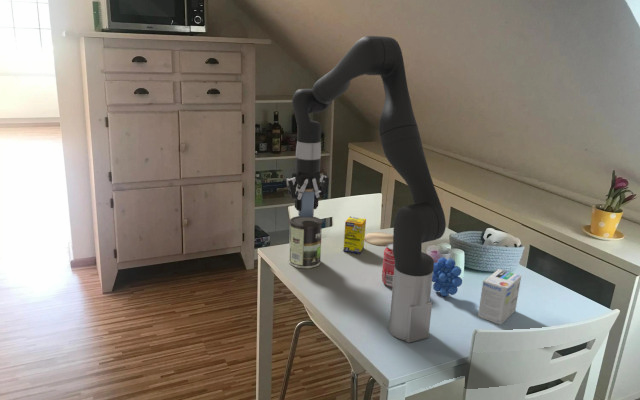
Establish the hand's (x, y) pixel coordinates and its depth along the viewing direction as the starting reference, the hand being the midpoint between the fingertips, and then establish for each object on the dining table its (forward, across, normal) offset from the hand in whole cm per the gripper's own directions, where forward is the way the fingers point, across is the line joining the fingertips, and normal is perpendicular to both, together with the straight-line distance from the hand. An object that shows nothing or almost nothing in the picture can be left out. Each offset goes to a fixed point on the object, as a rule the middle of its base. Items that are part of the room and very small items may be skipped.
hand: (306, 209), depth 166 cm
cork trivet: (+18, +34, +8) cm, 39 cm away
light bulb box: (+18, +34, -50) cm, 63 cm away
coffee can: (+18, 0, 0) cm, 18 cm away
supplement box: (+18, +20, +3) cm, 27 cm away
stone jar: (+2, 0, 0) cm, 2 cm away
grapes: (+18, +28, -36) cm, 49 cm away
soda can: (+18, +18, -24) cm, 35 cm away
